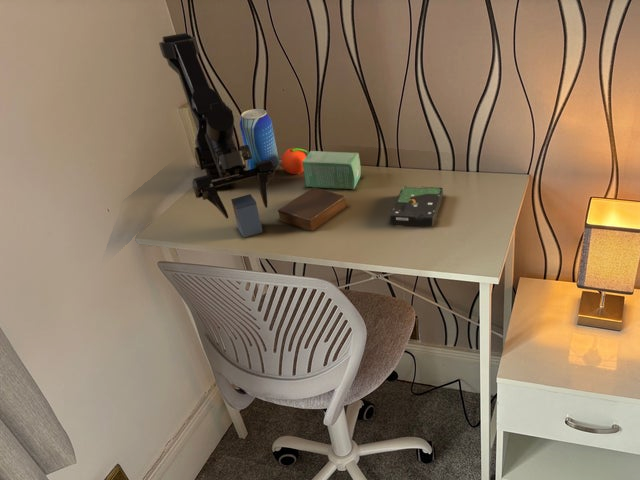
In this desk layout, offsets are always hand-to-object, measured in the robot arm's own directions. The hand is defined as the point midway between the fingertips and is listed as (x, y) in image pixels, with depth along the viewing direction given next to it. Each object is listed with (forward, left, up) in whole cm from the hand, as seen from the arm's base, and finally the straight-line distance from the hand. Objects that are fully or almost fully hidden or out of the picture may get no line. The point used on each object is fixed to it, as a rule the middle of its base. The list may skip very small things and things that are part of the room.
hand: (247, 212), depth 142 cm
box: (-20, +22, -6) cm, 30 cm away
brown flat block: (-5, +15, -5) cm, 17 cm away
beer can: (-34, +4, -6) cm, 35 cm away
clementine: (-29, +13, -6) cm, 32 cm away
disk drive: (+1, +40, -6) cm, 40 cm away
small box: (-1, 0, -5) cm, 6 cm away
